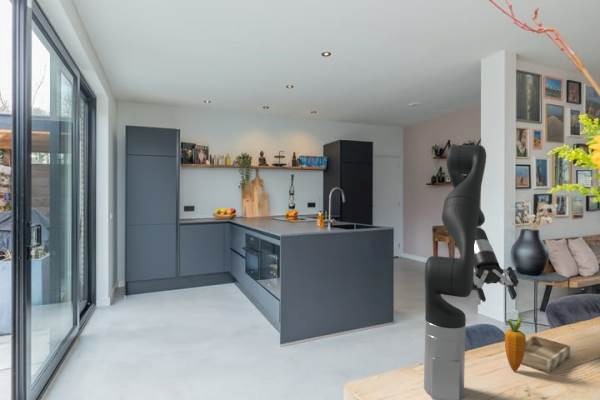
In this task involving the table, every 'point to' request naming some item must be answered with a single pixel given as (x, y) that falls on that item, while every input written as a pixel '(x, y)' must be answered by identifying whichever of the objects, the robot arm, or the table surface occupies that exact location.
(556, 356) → the oak tray
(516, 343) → the carrot
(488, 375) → the table surface
